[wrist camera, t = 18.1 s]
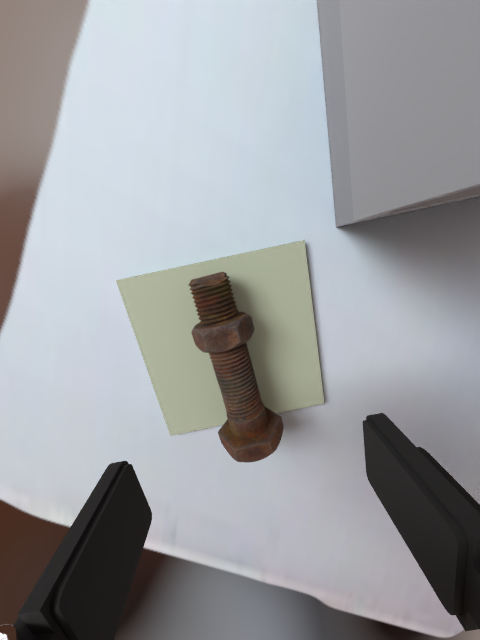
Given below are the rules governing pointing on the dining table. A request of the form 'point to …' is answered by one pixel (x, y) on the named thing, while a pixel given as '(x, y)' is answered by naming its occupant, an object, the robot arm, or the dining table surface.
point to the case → (401, 104)
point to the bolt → (233, 370)
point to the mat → (264, 346)
